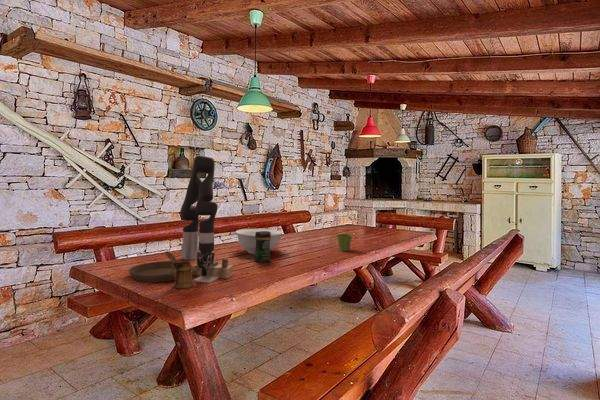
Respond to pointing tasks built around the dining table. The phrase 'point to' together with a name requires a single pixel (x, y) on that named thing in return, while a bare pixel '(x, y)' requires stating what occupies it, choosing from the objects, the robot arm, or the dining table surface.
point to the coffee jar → (262, 246)
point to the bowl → (249, 241)
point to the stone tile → (206, 279)
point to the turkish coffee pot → (181, 273)
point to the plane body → (215, 268)
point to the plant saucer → (153, 271)
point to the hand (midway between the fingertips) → (206, 274)
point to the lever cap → (208, 271)
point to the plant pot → (344, 241)
